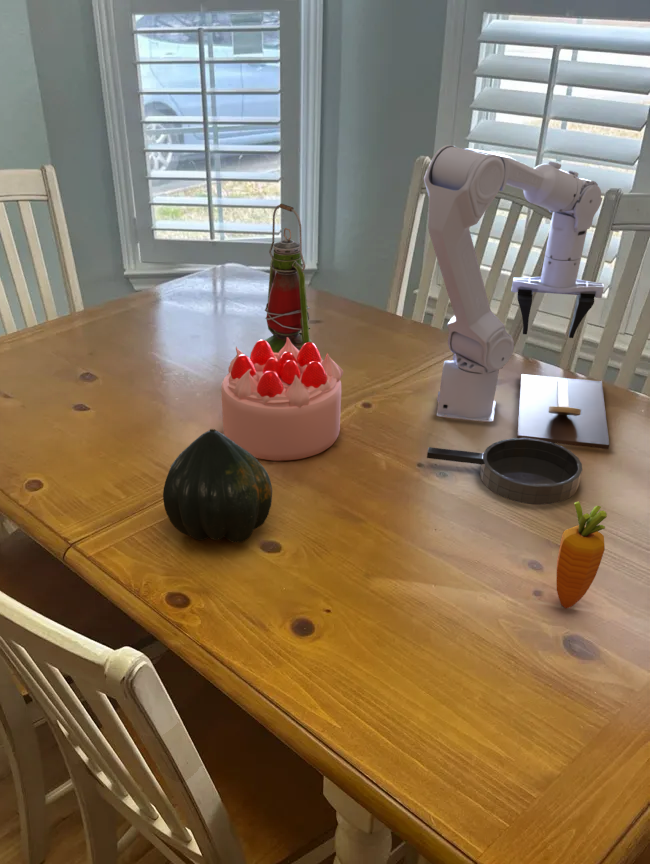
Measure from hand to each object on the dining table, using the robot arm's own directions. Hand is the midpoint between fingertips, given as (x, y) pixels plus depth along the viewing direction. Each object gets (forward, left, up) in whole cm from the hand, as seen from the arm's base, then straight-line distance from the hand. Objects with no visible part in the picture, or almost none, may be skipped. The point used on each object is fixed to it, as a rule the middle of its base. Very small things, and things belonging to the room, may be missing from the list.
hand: (547, 334), depth 143 cm
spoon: (+4, -10, -11) cm, 15 cm away
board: (+4, -9, -10) cm, 14 cm away
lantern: (-47, 0, -11) cm, 48 cm away
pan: (-1, -33, -10) cm, 35 cm away
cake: (-41, -27, -11) cm, 50 cm away
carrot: (+4, -62, -11) cm, 63 cm away
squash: (-43, -56, -11) cm, 71 cm away
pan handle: (-12, -33, -8) cm, 36 cm away
